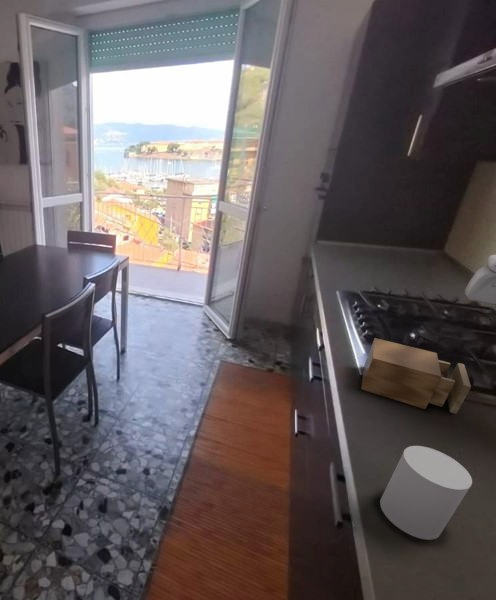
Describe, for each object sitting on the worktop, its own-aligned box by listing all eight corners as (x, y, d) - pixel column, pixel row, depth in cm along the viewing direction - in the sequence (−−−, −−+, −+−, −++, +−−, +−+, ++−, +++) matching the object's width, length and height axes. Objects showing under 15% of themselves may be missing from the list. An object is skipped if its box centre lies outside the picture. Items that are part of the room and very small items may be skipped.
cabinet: (422, 384, 92) (436, 353, 88) (425, 409, 84) (441, 376, 80) (363, 367, 99) (374, 337, 95) (361, 389, 91) (372, 357, 87)
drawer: (457, 391, 88) (471, 366, 85) (463, 416, 81) (478, 389, 77) (393, 373, 95) (403, 349, 92) (393, 394, 88) (404, 368, 84)
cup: (454, 539, 57) (488, 489, 52) (403, 539, 58) (432, 489, 52) (414, 493, 65) (440, 445, 60) (369, 493, 65) (391, 445, 60)
